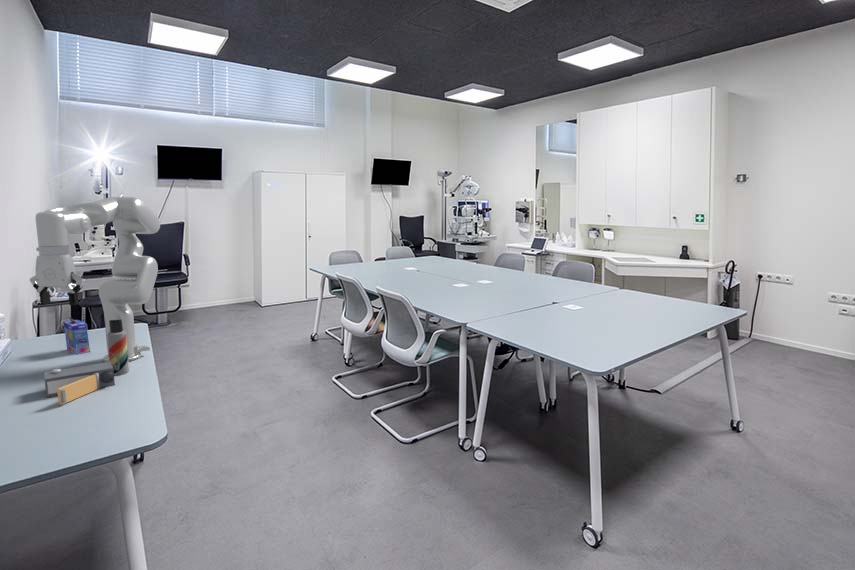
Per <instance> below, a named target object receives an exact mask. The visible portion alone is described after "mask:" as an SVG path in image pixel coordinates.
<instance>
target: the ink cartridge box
mask: <svg viewBox="0 0 855 570" xmlns="http://www.w3.org/2000/svg"><path fill="white" fill-rule="evenodd" d="M68 318H69V320H67V321H63V327H64V336H65V342H66V345H65V346H66V350H67V351H68V352H70V353H72V354H74V355H75V354H76V355H81V354H85V352H86V353H89V352H91V347H90V346H91V345H90V340H89V339H90V338H89V333H88V324H87V323H86V322H84V321H81V320H79V319H73V318H72V317H70V316H68ZM80 353H81V354H80Z"/></svg>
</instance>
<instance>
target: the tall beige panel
mask: <svg viewBox="0 0 855 570" xmlns="http://www.w3.org/2000/svg"><path fill="white" fill-rule="evenodd" d="M99 389H101V387H100V384H99V374H98V373H94V374H93V375H91V376H88V377H86V378H83V379H81V380H78V381H76V382H73V383H71V384H68V385H65V386H63V387H60V388H58V389H57V392H58V395H57V400H58V405H61V406H62V405H64V404H67V403H68V402H71V401H74V400H76V399H79V398H81V397H83V396H85V395H87V394H90V393H92V392H94V391H97V390H99Z"/></svg>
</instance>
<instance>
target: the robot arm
mask: <svg viewBox="0 0 855 570" xmlns="http://www.w3.org/2000/svg"><path fill="white" fill-rule="evenodd" d="M111 222H112V225H113V226H112V227H113V228H114V231H115V233H116V235H117V239H118V244H119V245H118V249H117V252H116V254H115V257H114V259H113V263H112V266H111V274H112V275H113V277H115V278H117V279H115V278H114V279H108V280H105V281H103V282H102V283H101V284H100V285H99V287H98V296H99V299H100V302H101V305H102V309H103V316H104V317H103V318H104V325H105V326H104V328H105V339H106V350H107V354H106V355H104V357H103V358H102V360H103V363H105V362H110V361H109V350H108V339H107V333H109V332H110V326H109V320H119V319H122V326H123V331H126V337H127V349H128V361H129V362H132V361H134V360H137V358H138V359H140V358H141V357H142V352H148V351H151V348H150V345H139V346H138V345H137V344H136V334H135V333H136V332H135V321H134V319H135V317H134V313H133V310H132V308H131V307H130V306H129V305H144V304H146V303H147V302H149V300H150V299H151V296H152V294H153V290H154V286H155V283H156V280H157V277H158V273H159V271H158V270H159V268H158V267H159V266H158V262H157V260H156V259H155V258H154V257H152V256H150V255H149V256H148V255H143V253H144V245H143V243H142V242H141V240H140V239H139V238H138V237H137V235H153V234H156V233H158V231H160V228H161V222H160V219H159V217H158V215H157V214H156V213H155V212H154V211H153V210H152V209H151V207H149V206H148V205H147V204H146V203H145V202H144V201H143V200H141V199H140V198H138V197H134V196H132V197H131V196H129V197H128V196H110V197H106V198H103V199H99V200H95V201H91V202H85V203H78V204H73V205H72V204H71V205H64V206H59V207H53V208H50V209H46V210H44V211H42V212H41V211H40V212H38V213H36V214H35V227H36V236H37V243H38V244H37V245H38V246H37V247H36V252H38V253H39V255H36V260H35V275H34V276H32V277H30V278H29V281H30V283H31V285H32V287H33V288H34V289H35V290H36V293H38V294H39V300H40V305H41V306H45V305H49V304H50V303H51V294H50V291H49V289H50V288H66V289H67V290H68V291H69V293H68V305H69V306H70V307H71V306H76V305H79V301H80V299H79V293H80V292H81V290H82V289H83V287H84V284H85V283H86V279H84V278H83V277H81V276H79V275H78V274H77V272H76V265H75V262H74V260H73V257H72V255H70V247H69V244H70V243H69V236H68V235H82V234H85V233H86V232H88V231H89V230H90V229H91V227H98V226H99V227H100V226H103V225H106V224H109V223H111Z"/></svg>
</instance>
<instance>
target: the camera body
mask: <svg viewBox="0 0 855 570" xmlns="http://www.w3.org/2000/svg"><path fill="white" fill-rule="evenodd" d="M43 373H44V386H45V393H46V398H50V397H56V396H57V397H58V392H57V389H58V388H60V387H63V386H65V385H68V384H71V383H73V382H76V381H78V380H81V379H83V378H86V377H88V376H91V375H93V374H94V373H98V374H99V384H100V388H105V387H111V386H114V385H115V384H116V383H115V382H116V381H115V375H114V370H113V366H112V364H111V362H100V363H93V364H87V365H81V366H76V367H75V366H74V367H69V368H68V367H67V368H55V369H51V370H48V371H44V372H43Z"/></svg>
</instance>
